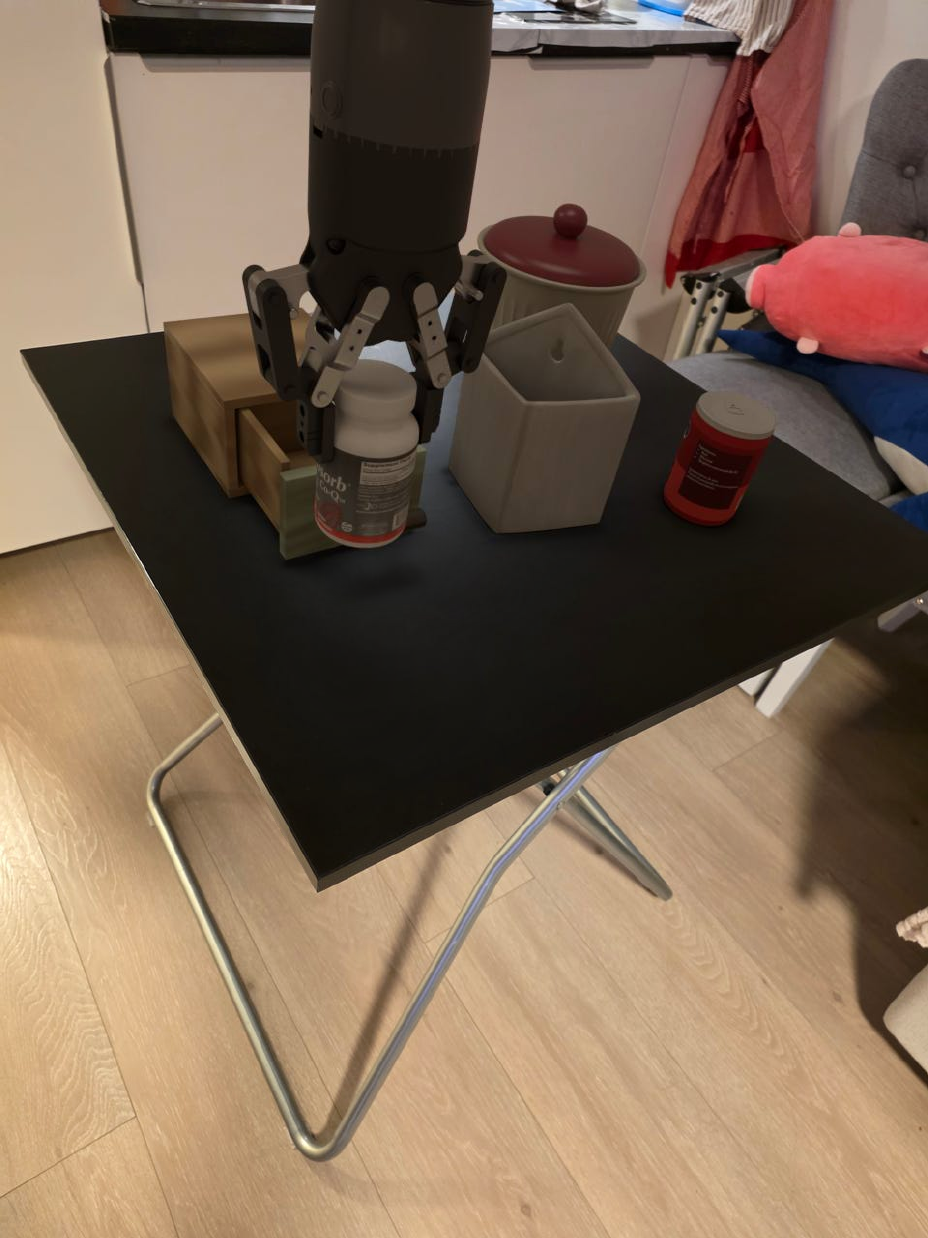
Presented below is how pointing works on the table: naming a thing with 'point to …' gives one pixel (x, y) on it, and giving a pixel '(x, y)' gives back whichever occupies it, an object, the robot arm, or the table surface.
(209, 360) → the cabinet
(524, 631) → the table surface
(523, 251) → the canister
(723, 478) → the red supplement jar
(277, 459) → the drawer
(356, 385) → the pill bottle
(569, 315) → the planter
